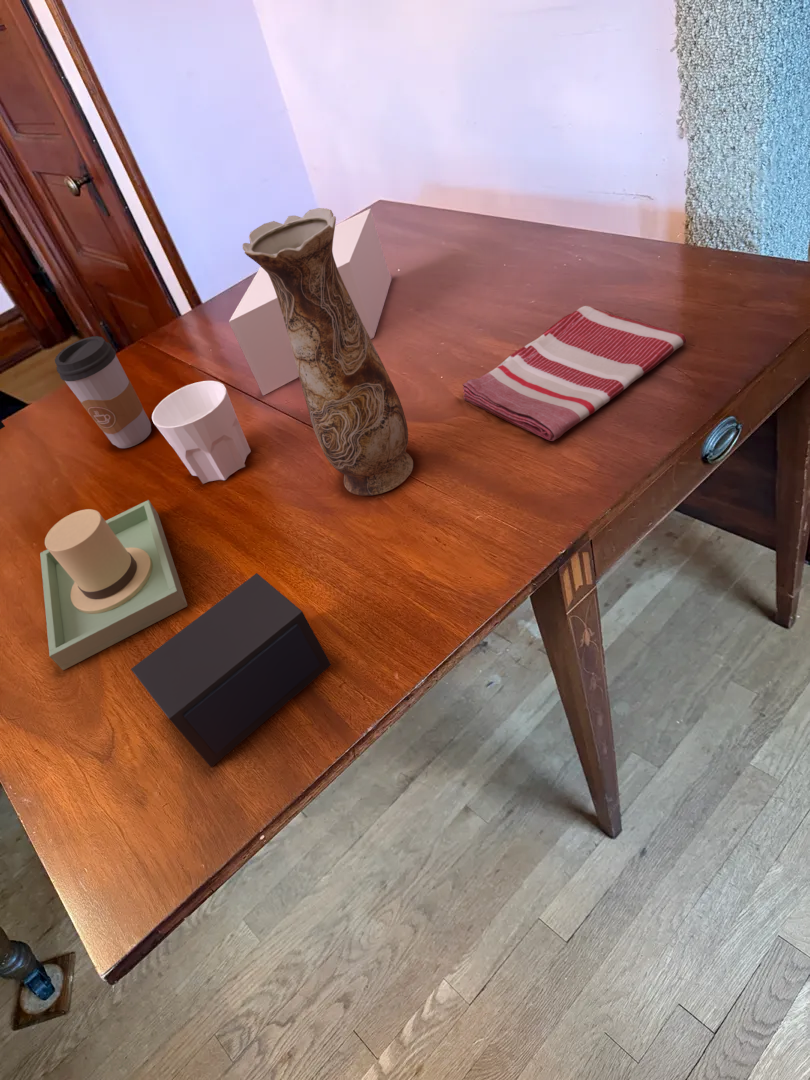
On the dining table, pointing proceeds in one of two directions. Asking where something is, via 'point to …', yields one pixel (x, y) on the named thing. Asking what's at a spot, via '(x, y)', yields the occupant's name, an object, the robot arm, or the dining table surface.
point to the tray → (93, 633)
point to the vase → (334, 354)
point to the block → (262, 315)
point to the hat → (97, 562)
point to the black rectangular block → (233, 667)
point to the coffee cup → (104, 390)
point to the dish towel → (571, 370)
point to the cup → (203, 430)
